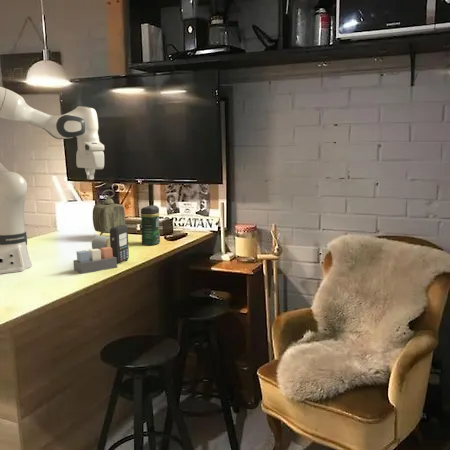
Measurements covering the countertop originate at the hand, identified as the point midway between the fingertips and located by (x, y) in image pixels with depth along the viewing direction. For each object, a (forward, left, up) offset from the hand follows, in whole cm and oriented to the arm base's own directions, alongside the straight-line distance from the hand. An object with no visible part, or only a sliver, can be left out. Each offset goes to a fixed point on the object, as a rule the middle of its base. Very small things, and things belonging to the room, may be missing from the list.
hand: (90, 179), depth 232 cm
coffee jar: (+34, +11, -34) cm, 50 cm away
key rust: (-2, -17, -32) cm, 36 cm away
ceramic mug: (+9, +10, -34) cm, 37 cm away
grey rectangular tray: (-8, -17, -34) cm, 39 cm away
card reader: (+5, -13, -34) cm, 37 cm away
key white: (-8, -17, -32) cm, 37 cm away
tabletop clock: (+25, +36, -34) cm, 56 cm away
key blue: (-13, -17, -32) cm, 38 cm away
